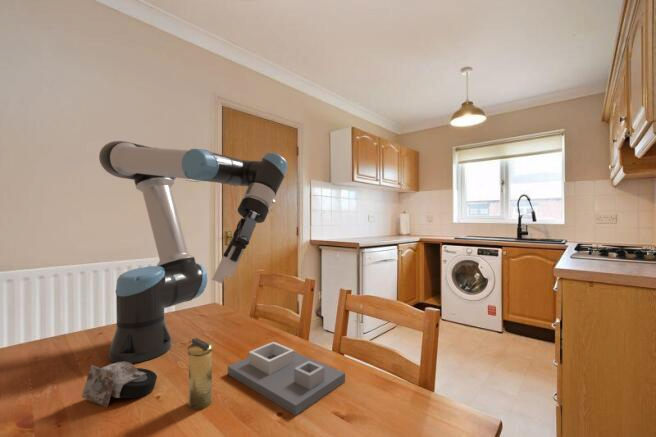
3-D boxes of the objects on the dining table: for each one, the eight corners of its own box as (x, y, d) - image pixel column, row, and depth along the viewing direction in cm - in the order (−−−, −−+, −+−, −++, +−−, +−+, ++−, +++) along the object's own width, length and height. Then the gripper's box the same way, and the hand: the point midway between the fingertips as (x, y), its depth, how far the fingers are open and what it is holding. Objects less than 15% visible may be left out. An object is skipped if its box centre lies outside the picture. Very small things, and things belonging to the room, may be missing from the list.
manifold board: (227, 374, 75) (227, 353, 75) (277, 351, 87) (277, 334, 87) (295, 415, 59) (295, 390, 59) (345, 381, 72) (345, 360, 72)
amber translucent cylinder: (183, 403, 63) (183, 342, 63) (205, 393, 67) (205, 335, 67) (195, 414, 60) (195, 349, 60) (217, 402, 63) (217, 341, 63)
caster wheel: (159, 395, 70) (123, 417, 60) (119, 379, 73) (78, 398, 63) (167, 366, 71) (133, 383, 61) (128, 351, 73) (88, 365, 63)
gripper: (284, 194, 72) (247, 278, 63) (257, 222, 93) (227, 288, 84) (254, 179, 70) (212, 264, 60) (234, 211, 91) (200, 278, 82)
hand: (220, 278), depth 72 cm, fingers open, 13 cm apart
